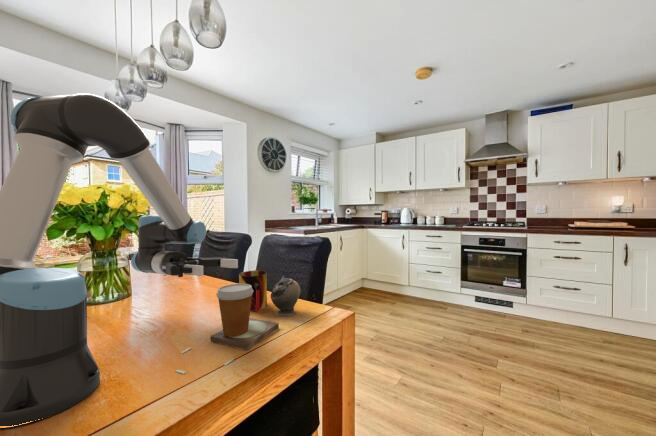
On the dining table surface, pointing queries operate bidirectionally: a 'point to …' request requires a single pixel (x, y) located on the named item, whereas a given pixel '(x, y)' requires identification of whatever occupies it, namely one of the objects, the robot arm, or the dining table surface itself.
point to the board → (247, 334)
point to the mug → (256, 288)
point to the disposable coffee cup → (235, 308)
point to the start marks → (189, 349)
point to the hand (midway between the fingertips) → (221, 267)
